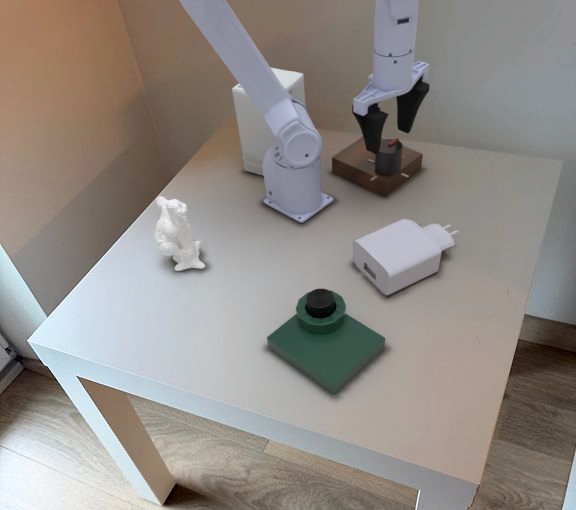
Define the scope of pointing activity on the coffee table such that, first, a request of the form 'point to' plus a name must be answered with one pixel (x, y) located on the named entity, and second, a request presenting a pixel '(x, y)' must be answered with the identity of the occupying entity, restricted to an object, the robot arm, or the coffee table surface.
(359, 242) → the charger
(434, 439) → the coffee table surface
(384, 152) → the lock knob
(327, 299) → the black push button
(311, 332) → the base
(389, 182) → the panel
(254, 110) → the white product box
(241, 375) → the coffee table surface
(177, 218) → the koala figurine
